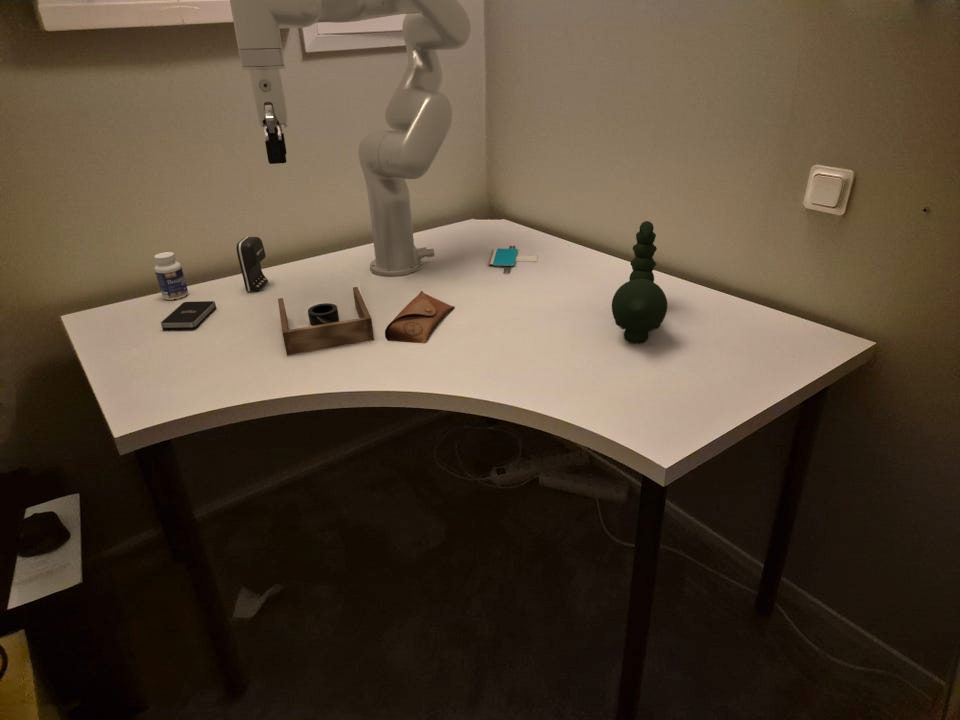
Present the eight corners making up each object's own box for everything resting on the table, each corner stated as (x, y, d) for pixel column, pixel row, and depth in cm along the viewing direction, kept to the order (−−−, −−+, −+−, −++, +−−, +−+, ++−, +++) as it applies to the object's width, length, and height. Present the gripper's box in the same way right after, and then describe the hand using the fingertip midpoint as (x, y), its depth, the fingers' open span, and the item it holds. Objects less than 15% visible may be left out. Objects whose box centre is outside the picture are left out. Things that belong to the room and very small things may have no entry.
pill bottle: (172, 302, 138) (160, 260, 133) (158, 298, 140) (145, 256, 136) (194, 294, 142) (182, 252, 137) (179, 290, 144) (167, 249, 140)
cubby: (360, 306, 132) (357, 286, 130) (374, 340, 118) (371, 318, 116) (282, 319, 128) (277, 298, 126) (286, 355, 114) (282, 333, 112)
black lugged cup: (299, 333, 122) (296, 320, 121) (312, 312, 131) (309, 299, 130) (338, 332, 122) (336, 319, 121) (348, 311, 131) (346, 298, 129)
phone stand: (535, 276, 146) (535, 269, 145) (484, 275, 147) (484, 268, 146) (538, 248, 163) (538, 242, 162) (492, 248, 165) (492, 241, 164)
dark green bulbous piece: (615, 308, 131) (605, 355, 108) (622, 215, 123) (614, 244, 101) (662, 311, 129) (663, 360, 106) (673, 216, 121) (676, 247, 98)
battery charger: (261, 293, 141) (251, 243, 136) (245, 293, 141) (234, 244, 136) (273, 281, 147) (263, 234, 142) (257, 281, 147) (246, 234, 142)
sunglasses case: (427, 344, 116) (407, 314, 114) (399, 358, 119) (379, 329, 117) (456, 305, 131) (439, 278, 129) (430, 319, 134) (413, 293, 132)
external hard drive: (218, 309, 134) (215, 301, 134) (195, 332, 125) (193, 323, 124) (186, 310, 135) (184, 301, 134) (161, 332, 125) (158, 323, 124)
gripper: (283, 61, 106) (298, 165, 114) (284, 58, 121) (297, 150, 129) (236, 62, 104) (255, 168, 112) (243, 59, 119) (259, 153, 127)
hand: (278, 158), depth 121 cm, fingers open, 9 cm apart
